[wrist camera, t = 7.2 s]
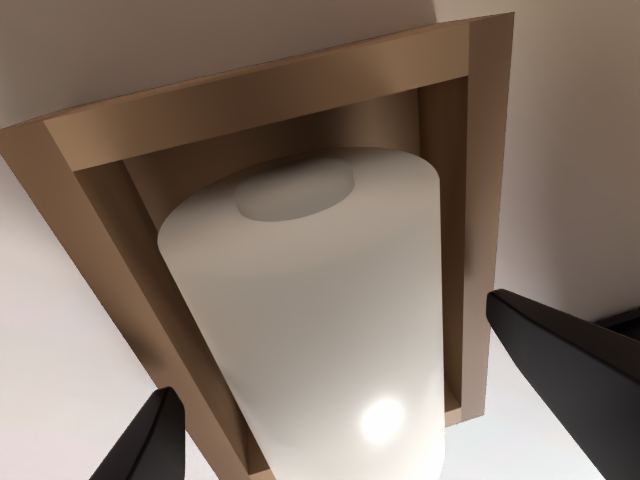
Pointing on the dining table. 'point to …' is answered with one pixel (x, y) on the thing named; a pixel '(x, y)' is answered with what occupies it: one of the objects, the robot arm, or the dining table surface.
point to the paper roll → (323, 308)
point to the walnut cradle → (261, 146)
